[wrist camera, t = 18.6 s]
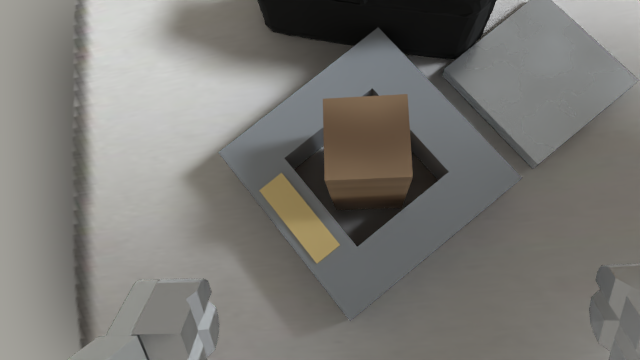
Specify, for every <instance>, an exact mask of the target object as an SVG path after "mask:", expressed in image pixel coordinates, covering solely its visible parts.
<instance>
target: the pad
mask: <svg viewBox="0 0 640 360" xmlns="http://www.w3.org/2000/svg"><path fill="white" fill-rule="evenodd" d="M442 76H443V77H444V78H445V79H446V80H447V81H448V82H449V83H450V84H451V85H452V86H453V87H454V88H455V89H456V90H457V91H458V92H459V93H460V94H461V95H462V96H463V97H464V98H465V99H466V100H467V101H468V102H469V103H470V105H471V106H472V107H473V108H474V109H475V110H476V111H477V112H478V113H479V114H480V115H481V116H482V117H483V118H484V119H485V120H486V121H487V122H488V123H489V124H490V125H491V126H492V127H493V128H494V129H495V130H496V131H497V132H498V133H499V134H500V135H501V136H502V137H503V139H504V140H505V141H506V142H507V143H508V144H509V145H510V146H511V147H512V148H513V149H514V150H515V151H516V152H517V153H518V154H519V155H520V156H521V157H522V158H523V159H524V160H525V161H526V162H527V163H528V164H529V165H530V166H531V167H532V168H534V167H536V166H537V165H538V164H539V163H541V162H542V161H543V160H544V159H545V158H547V157H548V156H549V155H550V154H551V153H553V152H554V151H555V150H556V149H557V148H559V147H560V146H561V145H562V144H563V143H565V142H566V141H567V140H568V139H569V138H571V137H572V136H573V135H574V134H575V133H577V132H578V131H579V130H580V129H581V128H583V127H584V126H585V125H586V124H587V123H589V122H590V121H591V120H592V119H593V118H595V117H596V116H597V115H598V114H599V113H601V112H602V111H603V110H604V109H605V108H607V107H608V106H609V105H610V104H612V103H613V102H614V101H615V100H616V99H618V98H619V97H620V96H621V95H622V94H624V93H625V92H626V91H627V90H628V89H630V88H631V87H632V86H633V85H634V84H636V83H637V82H638V81H639V80H638V79H637V78H636V77H635V76H634V75H633V74H632V73H631V72H630V71H629V70H627V69H626V68H625V67H624V66H623V65H622V64H621V63H620V62H619V61H618V60H616V59H615V58H614V57H613V56H612V55H611V54H610V53H609V52H608V51H607V50H605V49H604V48H603V47H602V46H601V45H600V44H599V43H598V42H597V41H596V40H595V39H593V38H592V37H591V36H590V35H589V34H588V33H587V32H586V31H585V30H584V29H582V28H581V27H580V26H579V25H578V24H577V23H576V22H575V21H574V20H573V19H571V18H570V17H569V16H568V15H567V14H566V13H565V12H564V11H563V10H562V9H560V8H559V7H558V6H557V5H556V4H555V3H554V2H553V1H552V0H530V1H528V2H527V3H526V4H525V5H523V6H522V7H521V8H520V9H518V10H517V11H516V12H515V13H513V14H512V15H511V16H510V17H508V18H507V19H506V20H505V21H503V22H502V23H501V24H500V25H498V26H497V27H496V28H495V29H493V30H492V31H491V32H490V33H488V34H487V35H486V36H485V37H483V38H482V39H481V40H480V41H478V42H477V43H476V44H475V45H473V46H472V47H471V48H470V49H468V50H467V51H466V52H465V53H463V54H462V55H461V56H460V57H458V58H457V59H456V60H455V61H453V62H452V63H451V64H450V65H448V66H447V67H446V68H445V69H444V72H443V75H442Z"/></svg>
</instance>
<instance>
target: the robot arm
mask: <svg viewBox="0 0 640 360" xmlns="http://www.w3.org/2000/svg"><path fill="white" fill-rule="evenodd" d="M596 282H597V284H598V285H599V287H600V290H599V291H598V292H596V293H595V294H594V295H593V296H592V297H591V303H590V308H589V312H590V323H591V326H592V329H593V333H594V335H595V337H596V339H597V341H598V343H599V344H601V345H602V346H603V347H605V348H606V349H608V350H609V351H611V352H610V356H609V360H640V264H617V265H602V266H601V267H600V268H599V270H598V272H597V276H596ZM211 292H212V291H211V288H210V285H209V282H208V280H206V279H161V280H139V281H137V282H136V283H135V284H134V285H133V287H132V289H131V290H130V292H129V294H128V296H127V298H126V299H125V301H124V303H123V305H122V307H121V309H120V310H119V312H118V314H117V316H116V318H115V319H114V321H113V323H112V325H111V327H110V329H109V330H108V332H107V334H106V336H99V337H97V338H96V339H94V340H93V341H92V342H90V343H89V344H88V345H86V346H85V347H83V348H82V349H81V350H79V351H78V352H77V353H75V354H74V355H72V356H71V357H70V358H68V359H67V360H207V357H208V356H209V355H210V354H211V353H212V352H213V351H214V350H215V348H216V345H217V341H218V335H219V317H218V312H217V309H216V306H214V305H213V304H212V303H211V302H209V298H210V295H211Z"/></svg>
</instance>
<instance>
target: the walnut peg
mask: <svg viewBox="0 0 640 360" xmlns="http://www.w3.org/2000/svg"><path fill="white" fill-rule="evenodd" d="M323 134H324V178H325V183H326V186H327V188H328V191H329V194H330V196H331V199H332V201H333V204H334V207H335V209H336V210H356V209H384V208H402V206H403V203H404V201H405V198H406V195H407V192H408V189H409V186H410V184H411V181H412V178H413V170H412V155H411V139H410V124H409V108H408V94H398V95H380V96H362V97H344V98H326V99H323Z"/></svg>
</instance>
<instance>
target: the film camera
mask: <svg viewBox="0 0 640 360" xmlns="http://www.w3.org/2000/svg"><path fill="white" fill-rule="evenodd" d="M495 2H496V0H258V3H259V6H260V10H261V12H262V14H263V17H264V20H265V24H266V25H267V26H268V27H269V28H270V29H271V30H272V31H273V32H278V33H283V34H287V35H293V36H300V37H304V38H309V39H315V40H322V41H329V42H334V43H340V44H347V45H353V46H355V45H356V44H358V43H359V42H360V41H361V40H363V39H364V38H365V37H366V36H368V35H369V34H370V33H372V32H373V31H374V30H375V29H377V28H379V29H380V30H381V31H382V32H383V33H384V34H385V35H386V36H387V37H388V38H389V39H390V40H391V41H392V42H393V43H394V44H395V45H396V46H397V47H398V49H399V50H400V51H401V52H402V53H404V54H410V55H419V56H426V57H436V58H445V59H455V58H458V57H460V56H461V55H462V54H463V53H465V52H466V51H467V50H468V49H470V48H471V47H472V46H473V45H474V44H475V42H476V41H477V40H479V39H480V38H481V36H482V34H483V31H484V28H485V26H486V24H487V21H488V20H489V17H490V14H491V12H492V10H493V8H494V5H495Z"/></svg>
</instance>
